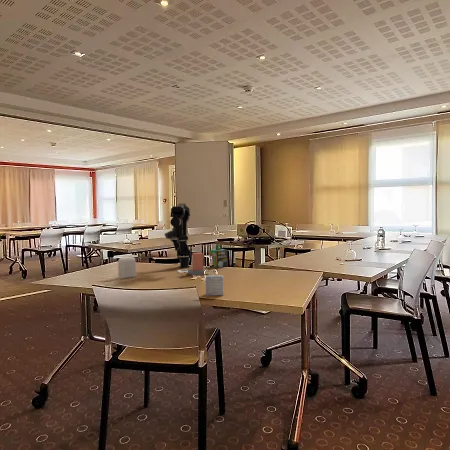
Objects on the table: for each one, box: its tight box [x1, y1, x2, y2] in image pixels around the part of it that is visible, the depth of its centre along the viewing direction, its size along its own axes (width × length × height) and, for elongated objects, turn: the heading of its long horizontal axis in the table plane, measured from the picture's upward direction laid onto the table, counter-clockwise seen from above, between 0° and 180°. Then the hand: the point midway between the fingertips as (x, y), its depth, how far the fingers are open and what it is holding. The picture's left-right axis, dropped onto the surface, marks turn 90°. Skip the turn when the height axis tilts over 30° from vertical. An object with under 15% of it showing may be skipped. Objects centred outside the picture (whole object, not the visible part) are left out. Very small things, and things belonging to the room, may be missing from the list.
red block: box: [191, 252, 205, 271], centre depth 232 cm, size 4×6×10 cm
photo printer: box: [117, 256, 137, 280], centre depth 226 cm, size 10×4×12 cm, turn 123°
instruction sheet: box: [176, 269, 188, 274], centre depth 244 cm, size 10×14×1 cm
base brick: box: [187, 267, 206, 277], centre depth 233 cm, size 10×10×2 cm
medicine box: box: [205, 274, 225, 297], centre depth 176 cm, size 8×4×9 cm, turn 86°
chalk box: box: [208, 244, 229, 269], centre depth 258 cm, size 9×9×15 cm
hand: (178, 251), depth 239 cm, fingers open, 9 cm apart
